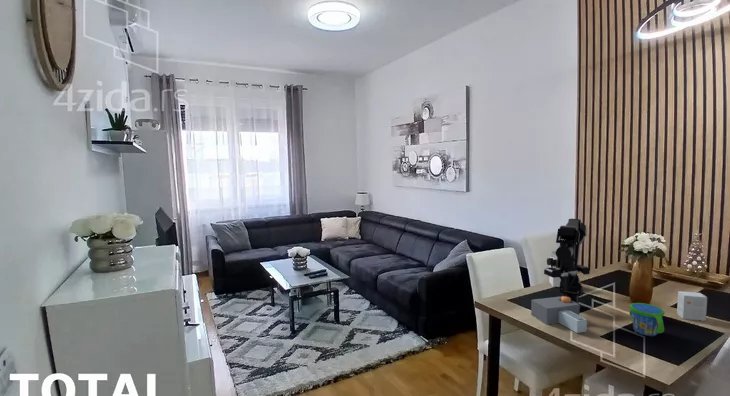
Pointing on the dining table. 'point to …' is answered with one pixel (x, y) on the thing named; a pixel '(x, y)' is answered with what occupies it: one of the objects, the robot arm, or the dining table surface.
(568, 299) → the plunger
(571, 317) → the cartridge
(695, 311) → the small box
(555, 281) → the milk carton
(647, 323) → the snack cup
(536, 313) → the block
